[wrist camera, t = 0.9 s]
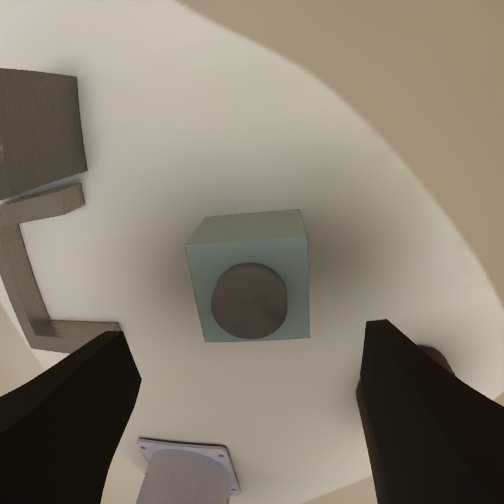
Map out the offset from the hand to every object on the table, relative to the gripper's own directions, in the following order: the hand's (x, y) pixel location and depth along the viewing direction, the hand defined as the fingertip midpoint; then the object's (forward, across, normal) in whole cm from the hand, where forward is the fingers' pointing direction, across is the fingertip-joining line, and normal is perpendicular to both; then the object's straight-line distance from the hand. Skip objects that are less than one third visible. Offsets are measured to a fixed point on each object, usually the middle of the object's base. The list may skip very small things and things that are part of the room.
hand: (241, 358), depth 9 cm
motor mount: (+8, +12, -3) cm, 15 cm away
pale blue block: (+8, 0, 0) cm, 8 cm away
